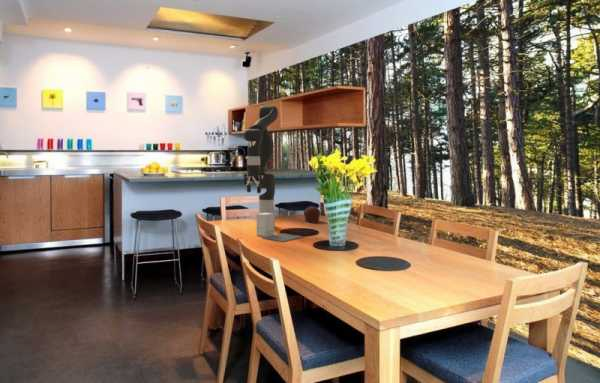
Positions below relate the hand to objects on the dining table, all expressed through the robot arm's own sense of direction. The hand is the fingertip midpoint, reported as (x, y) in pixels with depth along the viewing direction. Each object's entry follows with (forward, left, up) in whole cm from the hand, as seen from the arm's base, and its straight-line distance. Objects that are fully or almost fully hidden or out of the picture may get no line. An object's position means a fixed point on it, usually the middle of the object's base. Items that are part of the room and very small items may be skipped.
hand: (253, 192), depth 279 cm
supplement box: (0, +9, -24) cm, 26 cm away
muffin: (-57, -2, -24) cm, 62 cm away
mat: (-1, +22, -24) cm, 32 cm away
